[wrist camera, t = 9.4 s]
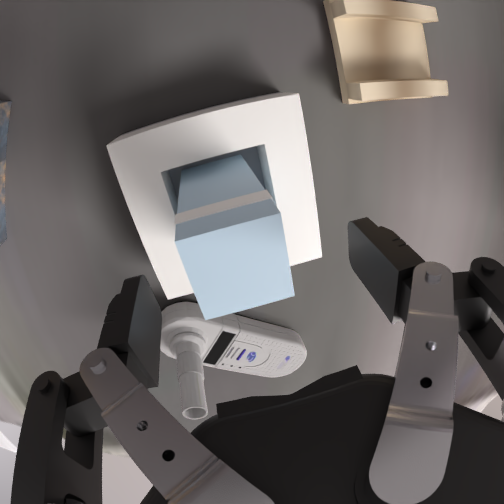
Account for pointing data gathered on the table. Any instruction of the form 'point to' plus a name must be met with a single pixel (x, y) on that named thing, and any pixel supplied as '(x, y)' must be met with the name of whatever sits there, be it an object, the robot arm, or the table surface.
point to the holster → (382, 50)
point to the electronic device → (224, 349)
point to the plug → (230, 238)
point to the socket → (212, 149)
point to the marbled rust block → (3, 164)
